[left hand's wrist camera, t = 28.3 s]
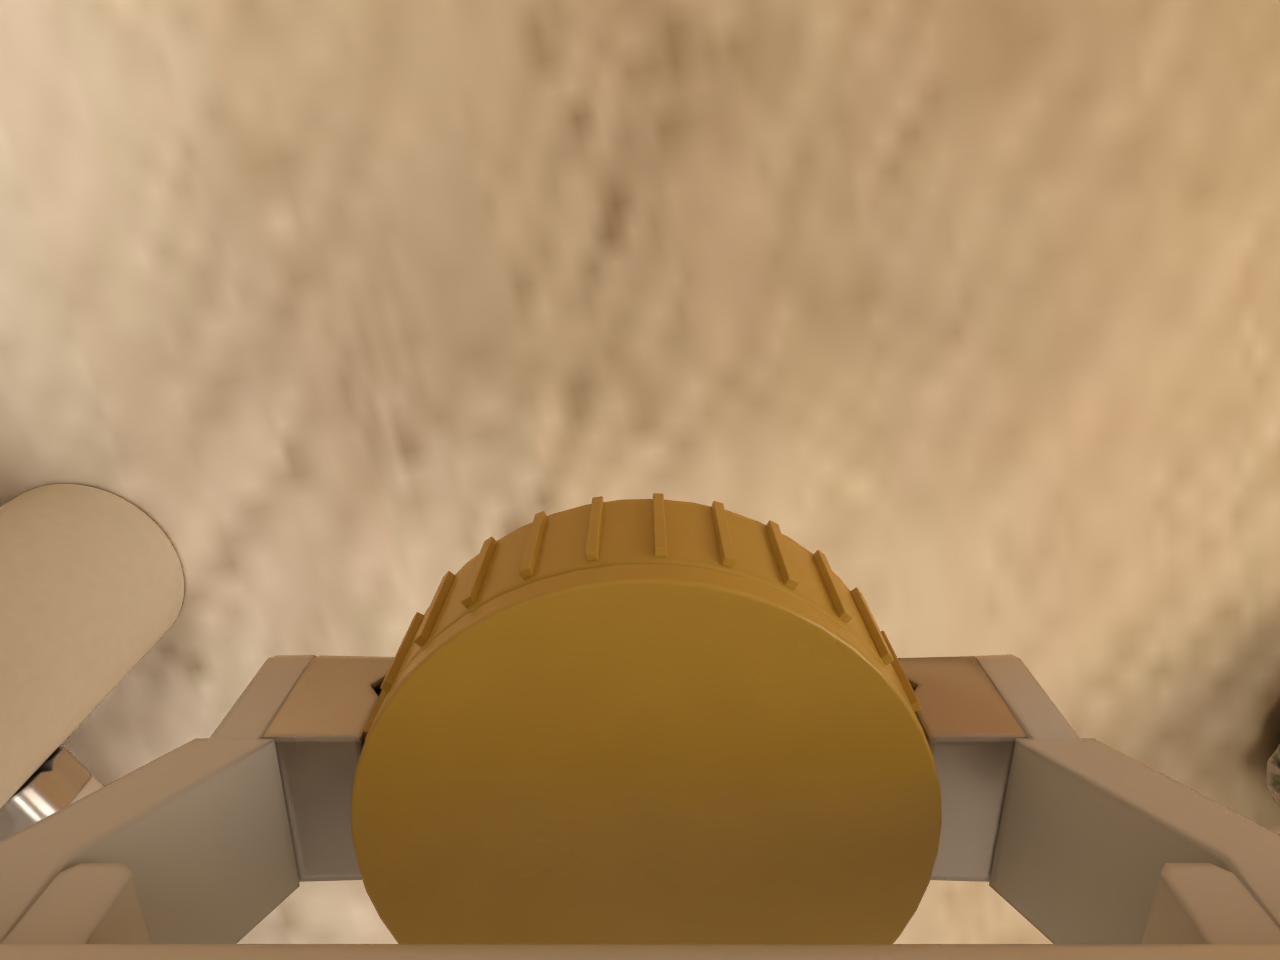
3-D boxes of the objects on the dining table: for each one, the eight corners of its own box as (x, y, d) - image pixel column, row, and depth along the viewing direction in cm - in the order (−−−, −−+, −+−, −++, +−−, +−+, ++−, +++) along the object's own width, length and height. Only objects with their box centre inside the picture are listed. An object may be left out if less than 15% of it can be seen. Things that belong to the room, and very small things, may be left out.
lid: (378, 477, 9) (314, 556, 7) (934, 501, 9) (1005, 585, 7) (405, 904, 11) (361, 1047, 9) (861, 919, 11) (902, 1065, 10)
